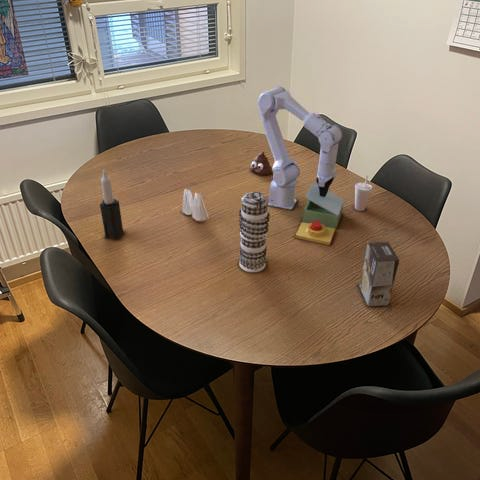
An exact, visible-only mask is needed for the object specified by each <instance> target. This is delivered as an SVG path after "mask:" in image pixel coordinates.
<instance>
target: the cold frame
mask: <svg viewBox="0 0 480 480" xmlns="http://www.w3.org/2000/svg"><path fill="white" fill-rule="evenodd" d="M307 200H308V201H307V202H306V204H305V206H304V208H303V211H302V222H304V223H309V224H310V223H312V222H313V221H318V222H321V223H322V225H324V226H325V227H328V228H333V229H335V230H337V228H338V225H339V222H340V219H341V217H342V214H343V208H344V204H343V205H342V207H341V210H340V213H339V215H338V216H336V215H334V214H333V213H331V212H329V211H327V210H326V209H324V208H322V207H321V206H319V205H317V204H315V203H314V202H312V201H310V200H309V199H307ZM302 222H301V223H302Z"/></svg>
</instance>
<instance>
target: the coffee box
mask: <svg viewBox="0 0 480 480" xmlns="http://www.w3.org/2000/svg"><path fill="white" fill-rule="evenodd" d="M399 265H400V259H399V257H398V255H397V254H396V252H395V251H394V249H393V247H392V246H391V244H390V243H389V241H374V242H367V245H366V251H365V255H364V261H363V266H362V271H361V277H360V281H359V289H360V291H361V294H362V296H363V299H364V301H365V303H366V305H367V306H368V307H378V306H389V303H390V299H391V295H392V291H393V288H394V285H395V284H394V283H395V281H396V275H397V272H398V268H399Z"/></svg>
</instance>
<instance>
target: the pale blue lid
mask: <svg viewBox="0 0 480 480" xmlns="http://www.w3.org/2000/svg"><path fill="white" fill-rule="evenodd" d="M305 199H307V200H310V201H312V202H314V203H315V204H317V205H319V206H321V207H322V208H324V209H326V210H327V211H329V212H331V213H333V214H334V215H336V216H338V215H339V213H340V210H341V207H342V205H343V206H344V202H345V200H344V198H341V197H339V196H338V195H336V194H334V193H333V192H331V191H329V190H328V192H327V195H326V197H323V196H320V193H319V186H318V184H317V183H315V182H312V184H311V186H310V188H309V190H308V192H307V194H306V196H305Z"/></svg>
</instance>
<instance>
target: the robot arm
mask: <svg viewBox="0 0 480 480" xmlns="http://www.w3.org/2000/svg"><path fill="white" fill-rule="evenodd" d="M256 102H257V105H258V108H259V113H258V114H259V115H258V116H259V118H260V119H259V120H260V122H261V125H262V128H263V130H264V133H265V136H266V140H267V142H268V146H269V148H270V152H271V154H272V157H273V159H274V163H273V166H272V167H271V168H272V174H273V175H272V178H273V179H272V181H271V183H270V185H269V192H268V193H269V194H268V195H269V196H268V201H269V202H268V206H271V207H275V208H281V209H286V210H293V209H294V207H295V205H296V203H297V201H298V199H297V198H295V196H296V195H295V194H296V183H297V179H298V178H299V177H300V175H301V169H300V167H299V166H298V164H297V163H296V161H295V159H294V158H292V157H290V155H289V152H288V149H287V146H286V142H285V141H284V138H283V135H282V132H281V129H280V125H279V122H278V119H277V114H278V112H279V111H280V110H286V111H288V112H289V113H291V114H292V115H293V116H294V117H296V118H297V119H299V120H300V121H302V122H303V127H304V128H305V129H306V130H308V131H309V132H310V133H311V134H313V136H315V137H317V139H318V143H319V145H320V148H319V149H320V151H319V157H318V167H317V168H318V169H317V171H316V175H317V176H316V180H315V182H316V184H317V185H318V186H319V193H320V196H323V197H326V195H327V192H328V191H329V190H330V186H331V185H332V184H333V181H334V179H335V178H337V177H338V173H337V172H335V170H336V163H337V156H338V148H339V142H340V141H341V140H342V139H343V131H342V129H341V128H340V127H339V125H337V124H331V123H330V122H327V121H326V120H325V119H323V118H322V117H321V114H319V113H316V112H312V113H310V112H309V111H308V110H307V109H306V108H305V107H303V106H302V105H301V104H300V103H299V102H298V101H297V100H296V99H295V98H293V96H292V94H291V93H290V91H288V90H287V89H285V87H283V86H276V87H275V88H272V89H270V90H267V91H263V92H261V93H260V95H259V97H258V99H257V101H256Z"/></svg>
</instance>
